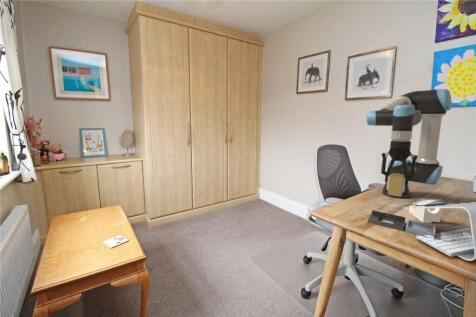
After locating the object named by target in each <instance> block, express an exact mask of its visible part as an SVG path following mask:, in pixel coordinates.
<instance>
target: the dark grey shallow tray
mask: <svg viewBox="0 0 476 317" xmlns="http://www.w3.org/2000/svg"><path fill="white" fill-rule="evenodd" d="M386 221H388V222H386ZM392 222H393V223H392ZM367 223H369V224H373V225H377V226H381V227H385V228H389V229H393V230H397V231H400V232H403V231H404V228H405V225H406V224H405V223H406V217H405V216H402V215H396V214H393V213H388V212H383V211H378V210H374V209H372V210H371V214H370V216H369V217H368V219H367Z"/></svg>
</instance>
